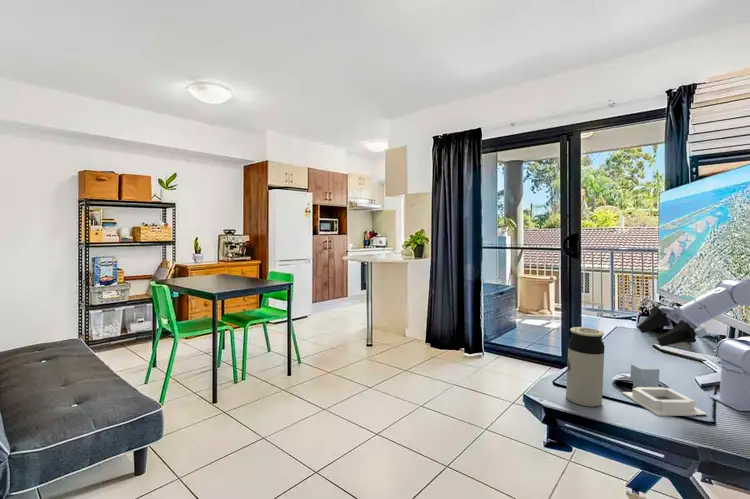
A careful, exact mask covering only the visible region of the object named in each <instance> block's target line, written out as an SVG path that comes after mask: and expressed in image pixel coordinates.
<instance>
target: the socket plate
mask: <svg viewBox="0 0 750 499" xmlns="http://www.w3.org/2000/svg"><path fill="white" fill-rule="evenodd" d="M631 390H632V391H622V392H621V394H622V395H623V396H625V397H626V398H628V399H630V400H632V401H633V402H635V403H636V404H637V405H639V406H641V407H643V408H645V409H646V410H647V411H650V412H651V413H653V414H654V415H656V416H657V417H663V416H664V417H665V416H666V417H669V416H673V417H675V416H678V417H679V416H681V417H682V416H683V417H689V416H690V417H694V415H695V417H697V416H696V415H707V416H708V413H706V412H704V411H703V410H701V409H699V408H698V407H696V401H695V400H693V399H692V398H690V397H688V396H686V395H684V394H682V393H680V392H678V391H677V390H674V389H672V388H670V387H669V388H668V387H666V388H665V387H662V386H659V387H636V388H634V387H632V389H631Z"/></svg>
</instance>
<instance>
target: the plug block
mask: <svg viewBox="0 0 750 499" xmlns="http://www.w3.org/2000/svg"><path fill="white" fill-rule="evenodd" d="M629 376H630V379H631V380H632V381H633V382H634V383H633V386H632V388H636V387H660V385H659V384H660V369H659V368H657V367H655V366H653V365H650V364H649V363H648V364H647V363H645V364H644V363H642V364H641V363H639V364H637V363H636V364H635V363H634V364H633V363H632V364H630V375H629ZM630 379H629V380H630Z"/></svg>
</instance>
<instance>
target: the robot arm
mask: <svg viewBox="0 0 750 499" xmlns="http://www.w3.org/2000/svg"><path fill="white" fill-rule="evenodd" d="M738 306H745V307H750V278H749V277H746V278H745V277H744V278H743V279H742V280H741V281H740V280H735V279H725V280H720V281H718V282H717V283H716V285H715V286H714V288H713V289H712V290H710V291H709V292H705V293H704V294H702V295H700V296H698V297H696V298H694V299H692V300H689V301H688V302H687V303H685V304H682V305H681V306H678V305H673V306H672V307H669V306H666V305H661V306H658V307H657V306H654V307H653V308H652V310H651V312H650V314H648V316H647V317H646V318H645V319H644V320H643V321H642V322H641V323H640V324H639V325H638V326H637V328H638V330H639V332H641V334H645V333H648V332H650V331H653V330H654V329H658V328H661V327H663V328H664V327H669V326H670V327H671V324H670V322H669V320H670V321H673V322H674V323H675V324H676V325H674V327H673V328H671V329H669V330H668V331H667V332H665V333H663V334H662V335H660V336H659V337H657V338H656V340H657V342H658V344H659V346H661V347H665V346H670V345H675V344H683V343H696V342H697V339H696V337H697V338H699V339H701V338H703V337H705V336H706V335H708V332H707V330H706V327H703V325H702V324H705V323H706V322H709V321H711V320H712V319H714V318H717V317H718V316H721V315H722V314H725V313H727V312H729V311H730V310H733V309H734V308H736V307H738ZM668 319H669V320H668ZM715 355H716V356H717V358H718V359H719V360H720V365H721V368H720V380H719V381H720V382H719V394H710V395H709V397H710V398H711V399H713V400H716V401H718V402H720V403H721V404H723V405H726V406H728V407H730V408H732V409H734V410H737V411H741V412H743V411H744V412H750V336H740V337H738V338H724V339H721V340H719V341H718V342H717V344H716V345H715Z"/></svg>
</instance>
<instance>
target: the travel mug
mask: <svg viewBox="0 0 750 499" xmlns="http://www.w3.org/2000/svg"><path fill="white" fill-rule="evenodd" d="M569 331H570V333H571V337H570V338H569V340H568V341H567V342H568V344H567V346H568V347H567V364H566V365H567V367H566V368H567V369H566V388H565V389H566V390H565V392H566V393H565V398H567V399H568V400H569V401H570V402H572V403H574V404H576V405H579V406H583V407H588V408H592V407H594V408H595V407H599V406H601V405H602V403H603V390H604V389H603V387H604V386H603V384H604V365H605V347H606V346H605V343H604V344H603V342H604V341H603V336H604V335H605V333H604V331H602V330H599V329H597V328H596V329H595V328H592V327H586V326H585V327H584V326H573V327H571V328H570V329H569ZM602 341H603V342H602Z"/></svg>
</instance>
